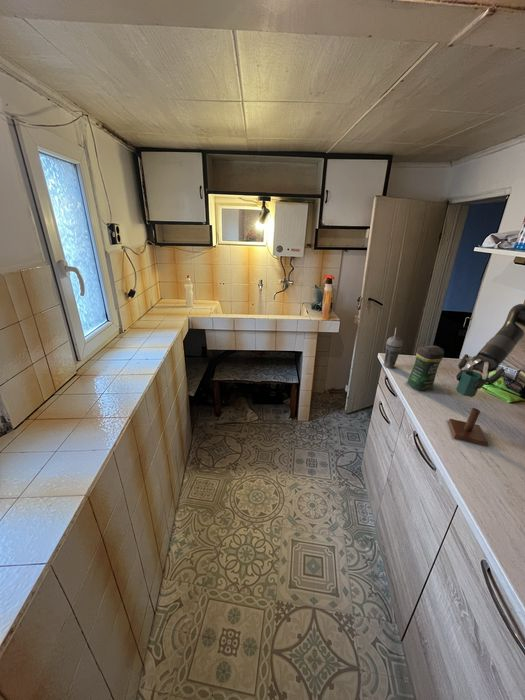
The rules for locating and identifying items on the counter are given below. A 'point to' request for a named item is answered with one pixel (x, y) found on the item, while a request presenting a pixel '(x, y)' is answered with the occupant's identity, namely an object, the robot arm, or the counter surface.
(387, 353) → the beverage cup
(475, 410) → the peg stand
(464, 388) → the green octagonal tube
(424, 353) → the coffee jar
